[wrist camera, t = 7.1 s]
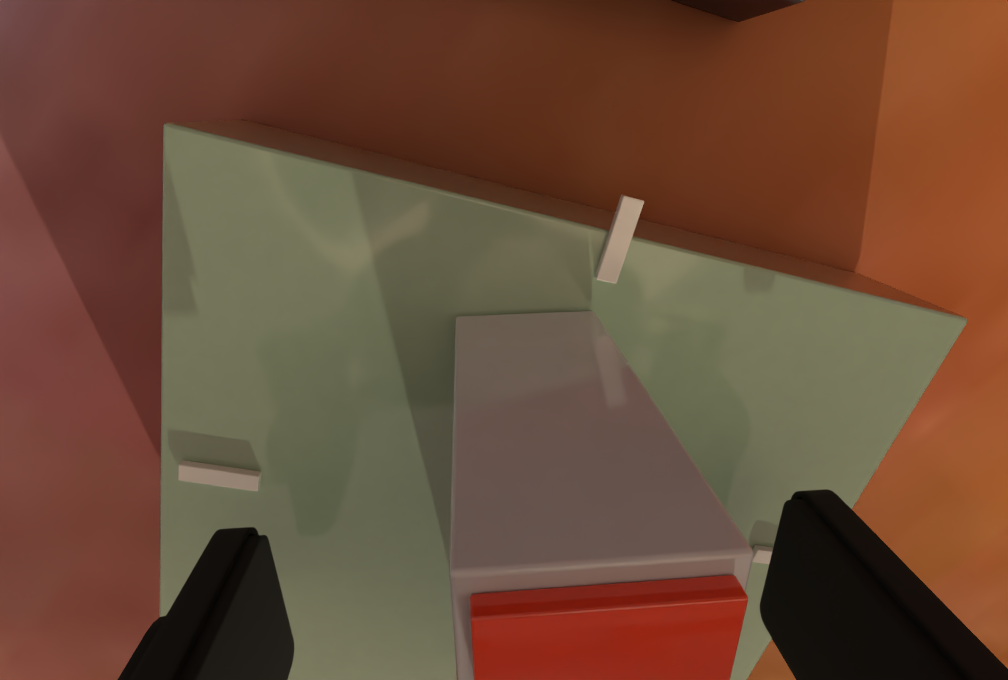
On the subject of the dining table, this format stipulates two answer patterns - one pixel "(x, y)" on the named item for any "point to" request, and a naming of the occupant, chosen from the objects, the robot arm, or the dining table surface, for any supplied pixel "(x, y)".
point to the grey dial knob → (580, 516)
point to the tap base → (430, 370)
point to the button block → (739, 7)
